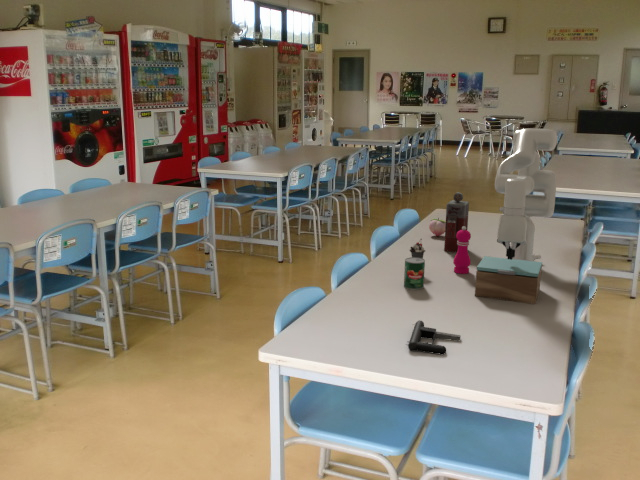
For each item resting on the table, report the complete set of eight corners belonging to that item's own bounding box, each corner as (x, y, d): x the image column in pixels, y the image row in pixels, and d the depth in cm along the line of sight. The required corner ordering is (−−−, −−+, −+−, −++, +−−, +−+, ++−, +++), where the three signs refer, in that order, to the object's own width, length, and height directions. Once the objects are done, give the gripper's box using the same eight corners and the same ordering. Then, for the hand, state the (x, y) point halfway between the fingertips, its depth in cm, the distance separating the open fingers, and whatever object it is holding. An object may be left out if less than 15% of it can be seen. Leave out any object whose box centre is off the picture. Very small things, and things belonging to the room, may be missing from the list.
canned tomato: (411, 290, 250) (412, 263, 247) (399, 285, 257) (400, 258, 254) (427, 287, 254) (429, 261, 251) (416, 282, 260) (417, 256, 258)
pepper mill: (470, 274, 270) (473, 228, 266) (452, 273, 272) (455, 227, 267) (469, 270, 277) (472, 224, 272) (452, 268, 279) (455, 224, 274)
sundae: (425, 271, 274) (427, 237, 271) (423, 276, 268) (424, 241, 264) (410, 270, 276) (411, 236, 273) (407, 274, 270) (408, 240, 267)
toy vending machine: (442, 252, 305) (445, 194, 298) (448, 246, 315) (451, 190, 308) (461, 254, 302) (465, 195, 295) (466, 248, 312) (469, 191, 305)
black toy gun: (462, 326, 209) (412, 318, 213) (458, 350, 190) (404, 341, 194) (460, 335, 210) (411, 327, 214) (457, 361, 191) (403, 352, 195)
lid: (484, 258, 258) (484, 255, 258) (542, 264, 250) (542, 261, 250) (475, 270, 240) (476, 267, 240) (537, 278, 232) (537, 274, 231)
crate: (482, 282, 260) (484, 259, 258) (539, 289, 252) (541, 265, 249) (474, 296, 244) (476, 271, 242) (535, 304, 236) (537, 278, 233)
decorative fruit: (449, 235, 338) (450, 217, 335) (443, 238, 331) (444, 219, 328) (432, 233, 342) (433, 215, 340) (426, 236, 336) (427, 217, 333)
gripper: (491, 211, 238) (488, 259, 243) (533, 215, 233) (529, 263, 237) (494, 207, 245) (491, 253, 250) (535, 211, 239) (531, 258, 244)
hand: (510, 258), depth 244 cm, fingers closed
